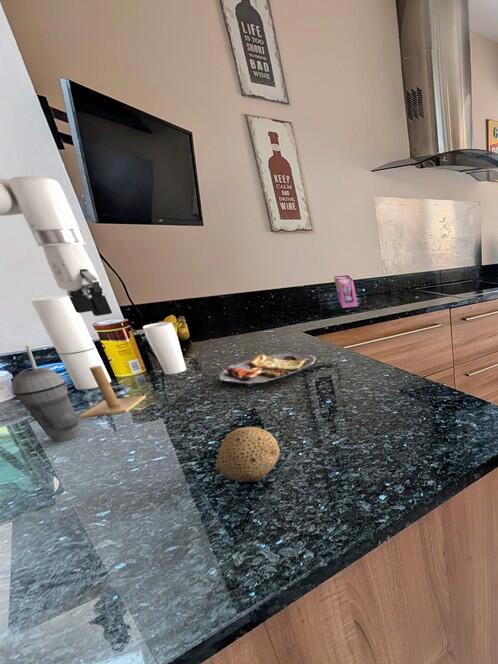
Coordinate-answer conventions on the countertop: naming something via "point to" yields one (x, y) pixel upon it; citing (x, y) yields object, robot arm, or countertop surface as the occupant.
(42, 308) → the cylindrical container
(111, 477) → the countertop surface
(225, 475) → the natural sponge
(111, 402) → the ring stand
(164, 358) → the drinking glass
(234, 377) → the food plate
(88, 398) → the ring
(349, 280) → the gum box
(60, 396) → the beverage cup
